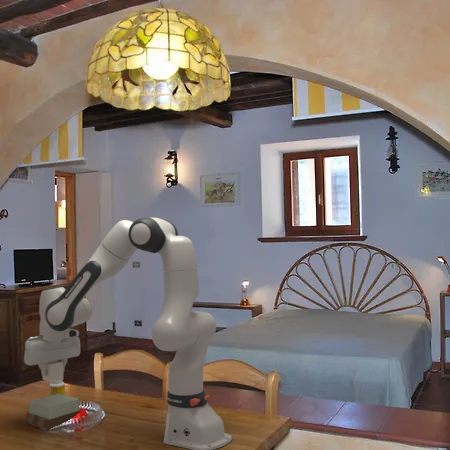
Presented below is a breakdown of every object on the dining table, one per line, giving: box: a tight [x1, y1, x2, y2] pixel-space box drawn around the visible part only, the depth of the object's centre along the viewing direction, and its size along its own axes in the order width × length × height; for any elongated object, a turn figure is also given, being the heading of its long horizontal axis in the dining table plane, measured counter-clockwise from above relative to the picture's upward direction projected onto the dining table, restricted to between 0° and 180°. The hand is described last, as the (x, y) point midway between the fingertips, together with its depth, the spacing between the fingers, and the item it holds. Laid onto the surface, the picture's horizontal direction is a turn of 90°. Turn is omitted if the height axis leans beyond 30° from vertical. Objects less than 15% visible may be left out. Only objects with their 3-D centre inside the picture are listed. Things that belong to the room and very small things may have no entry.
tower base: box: [26, 410, 82, 432], centre depth 196 cm, size 13×13×4 cm
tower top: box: [28, 393, 80, 420], centre depth 197 cm, size 12×12×4 cm
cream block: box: [42, 360, 64, 383], centre depth 197 cm, size 5×5×6 cm
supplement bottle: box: [48, 380, 66, 396], centre depth 217 cm, size 6×6×10 cm
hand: (53, 373), depth 197 cm, fingers closed on cream block, 5 cm apart
